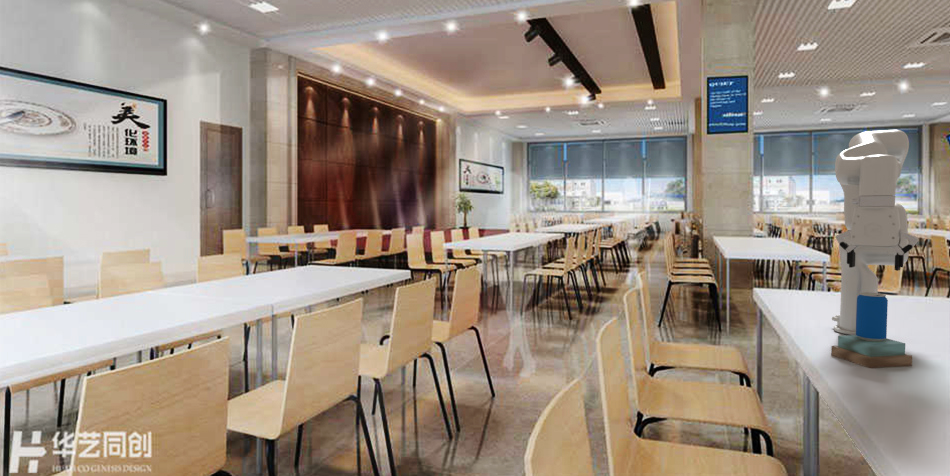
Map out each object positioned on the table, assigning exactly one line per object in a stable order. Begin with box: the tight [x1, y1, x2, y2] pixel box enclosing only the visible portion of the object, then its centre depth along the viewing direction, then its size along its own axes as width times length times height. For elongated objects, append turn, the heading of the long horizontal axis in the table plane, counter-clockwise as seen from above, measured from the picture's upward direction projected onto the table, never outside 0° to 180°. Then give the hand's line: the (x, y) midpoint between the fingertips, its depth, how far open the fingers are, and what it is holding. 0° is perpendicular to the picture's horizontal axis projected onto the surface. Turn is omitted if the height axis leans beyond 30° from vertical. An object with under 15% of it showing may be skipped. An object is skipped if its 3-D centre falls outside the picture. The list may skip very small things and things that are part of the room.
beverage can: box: [856, 292, 889, 342], centre depth 138 cm, size 6×6×12 cm
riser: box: [830, 334, 913, 369], centre depth 139 cm, size 12×12×6 cm
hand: (874, 268), depth 138 cm, fingers open, 9 cm apart
